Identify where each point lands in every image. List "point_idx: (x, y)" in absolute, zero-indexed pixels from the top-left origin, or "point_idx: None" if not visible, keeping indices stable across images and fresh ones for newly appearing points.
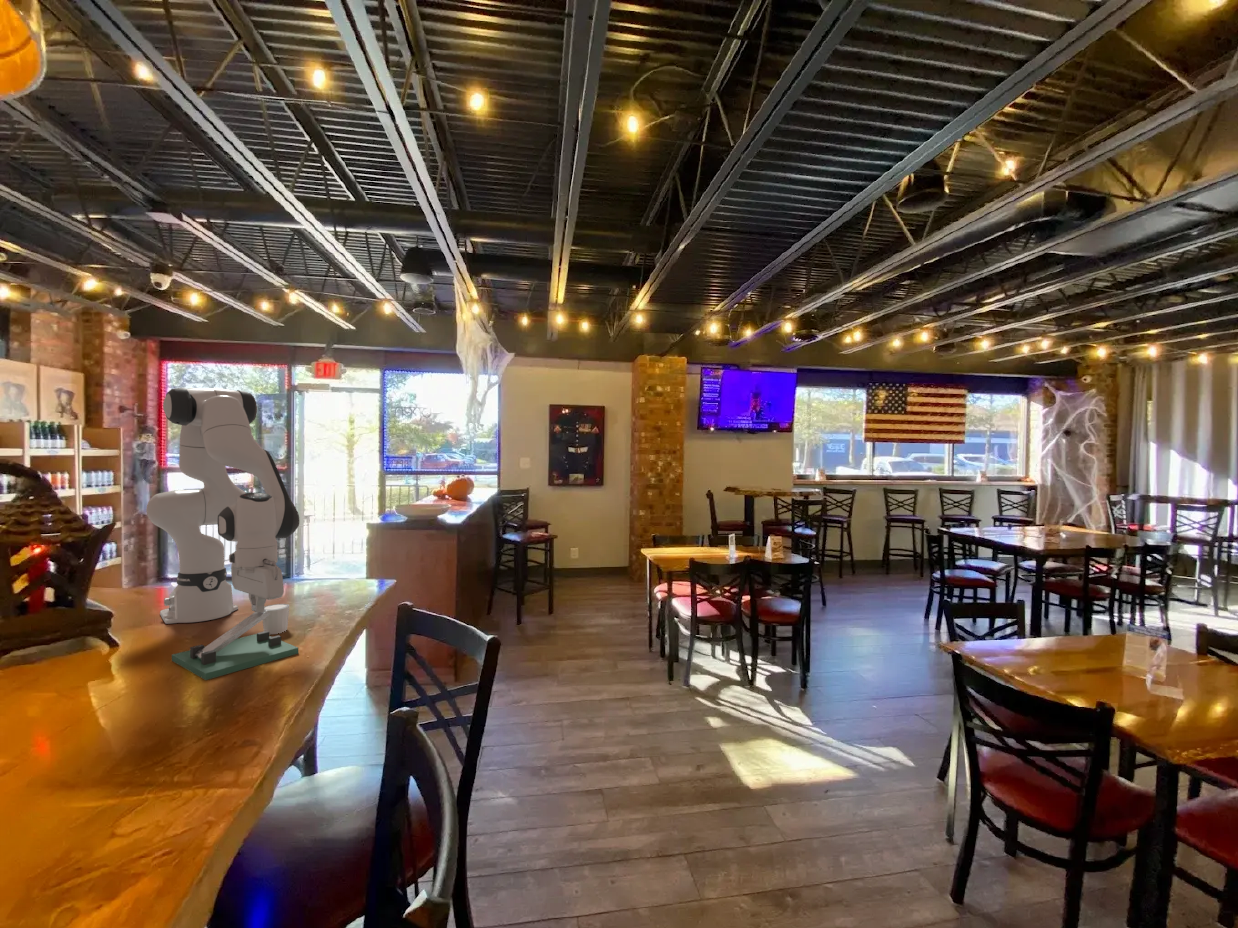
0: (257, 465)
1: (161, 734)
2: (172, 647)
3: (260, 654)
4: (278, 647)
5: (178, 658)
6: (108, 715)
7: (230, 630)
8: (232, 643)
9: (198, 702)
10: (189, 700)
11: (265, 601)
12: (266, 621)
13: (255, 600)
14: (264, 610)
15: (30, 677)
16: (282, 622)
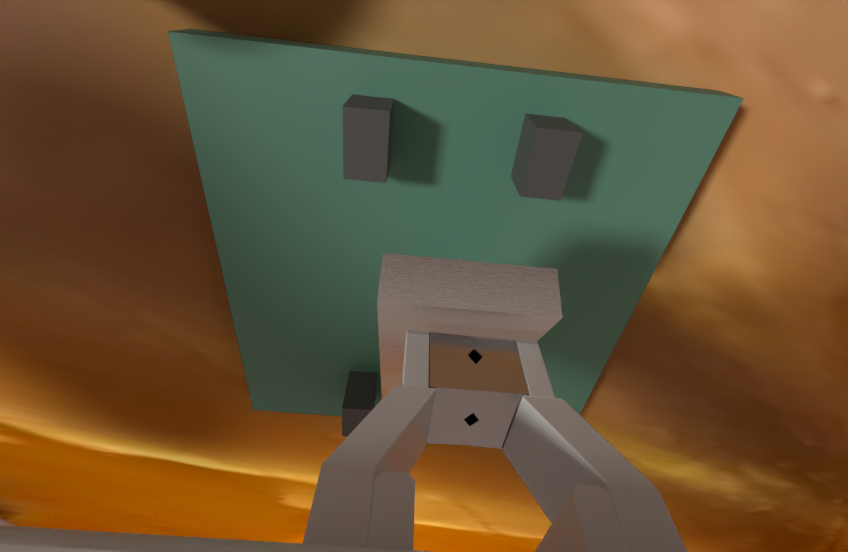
0: None
1: (745, 527)
2: (63, 336)
3: (598, 269)
4: (602, 163)
5: (323, 414)
6: None
7: (396, 384)
8: (289, 251)
9: (690, 466)
10: (654, 469)
11: (605, 439)
12: None
13: (408, 454)
14: (497, 313)
15: (142, 530)
16: None
